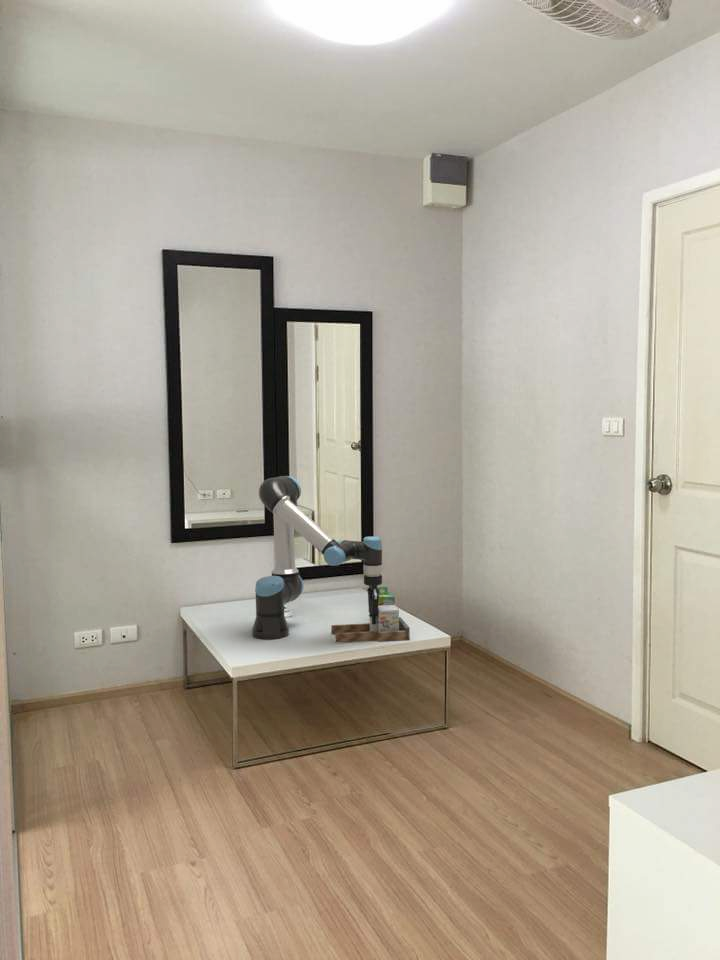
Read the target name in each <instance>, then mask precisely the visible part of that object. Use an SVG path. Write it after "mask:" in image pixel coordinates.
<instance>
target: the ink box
mask: <svg viewBox="0 0 720 960" xmlns="http://www.w3.org/2000/svg"><path fill="white" fill-rule="evenodd" d="M399 617H400V609H399V608H398V607H397V605H395V604H394V605H382V606H378V616H377V632H387V631H399Z"/></svg>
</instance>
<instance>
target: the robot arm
mask: <svg viewBox="0 0 720 960" xmlns="http://www.w3.org/2000/svg"><path fill="white" fill-rule="evenodd" d="M301 493H302V487H301V484H300V482H299V481H298V480H297V479H296V478H295V477H292V476H289V475H283V476H282V475H280V476H276V477H269V478H267V479H265V480H264V481H262V483H261V484H260V486H259V489H258V496H259V499H260V502H261V503H262V504H263V506H264V507H265V508H267V510H268V511H270V513H272V514H273V540H274V541H273V542H274V544H273V545H274V568H273V569H272V570H271V575H268V576H264V577H261V578H259V579H258V580H257V581H255V582H256V583H255V588H254V589H255V591H254V592H255V619H254V622H253V623H254V624H253V626H252V631H251V633H252V634H251V636H252V637H253V638H257V639H262V640H275V639H282V638H286V637H287V636H288V635H289V634H290V629H289V624H288V623H287V619H286V617H285V605H286V604H289V603H290V602H293V601H295V600H297V599H298V598H299V597H300V595H302V594H303V591H304V581H303V578H302V577H301V576H300V572H299V569H298V568H297V567H296V554H295V551H296V550H295V549H296V547H295V531H296V532H297V533H298V534H299V535H301V536H302V537H303V539H305V540H306V541H307V542H308V543H310V544H311V546H312V547H314V548H315V549H316V550H317V551H318V552H319V553H320V554H322V555H323V559H324V561H325V563H326V564H327V565H329V566H332V567H335V566H340V565H342V564H343V563H346V562H348V561H351V560H362V561H363V574H364V575H363V584H364V585H365V586H368V588H367V589H366V591H367V602H368V603H367V604H368V613H369V615H368V616H369V617H368V618H369V623H370V631H377V616H378V600H379V594H378V593H379V590H378V589H377V587H379V586H381V585H383V575H382V574H383V569H384V566H383V544H382V542H383V541H382V538H381V537H380V536H373V535H372V536H365V537H364V538H363V539H362V540H363V541H359V540H357V541H356V540H347V539H344V540H338V541H337V540H335V539H334V538H333V537H332V536H331V534H328V532H327V531H325V530H324V529H323V528H322V527H321V526H319V524H318V523H316V522H315V521H314V520H313V519H312V518H311V517H309V516H308V514H306V513H305V512H304V511H303V510H302V509H300V508H299V507H298V500H299V499H300V497H301Z"/></svg>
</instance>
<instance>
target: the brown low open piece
mask: <svg viewBox="0 0 720 960" xmlns="http://www.w3.org/2000/svg"><path fill="white" fill-rule="evenodd" d="M330 627H331V628H330V629H331V633H332V634H331V633H330V634H331V635H335V637H334V639H335V640H334V641H335V643H336V642H339V643H338V644H340V642H342V643H357V642H374V641H375V642H376V641H378V642H394V641H395V642H396V641H409V640H411V639H410V638H411V637H410V636H411V635H410V634H411V633H410V629H411V628H410V627H409V625H408V624H407V622H405V621H404V620H403V618H402V617H401V616H399V631H387V632H377V631H370V622H369V623H368V622H367V623H348V624H332V625H330Z"/></svg>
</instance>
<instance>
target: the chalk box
mask: <svg viewBox="0 0 720 960" xmlns="http://www.w3.org/2000/svg"><path fill="white" fill-rule="evenodd" d="M377 589H378V590H379V593H378V594H379V600H378V606H382V605H395V596H394V595H393V594H392V593H391V592H389V591H388V586H377ZM381 590H384V592H381Z"/></svg>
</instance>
